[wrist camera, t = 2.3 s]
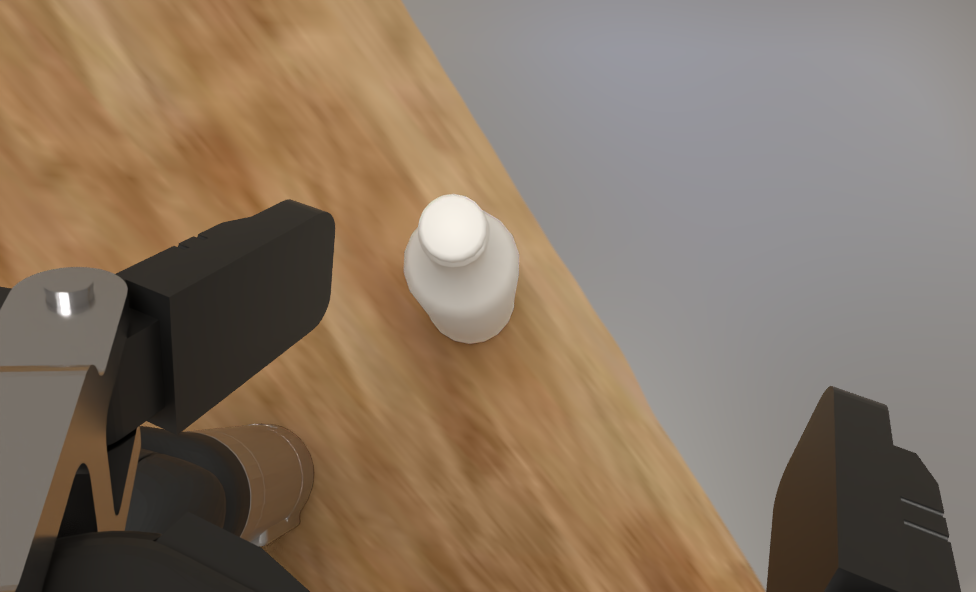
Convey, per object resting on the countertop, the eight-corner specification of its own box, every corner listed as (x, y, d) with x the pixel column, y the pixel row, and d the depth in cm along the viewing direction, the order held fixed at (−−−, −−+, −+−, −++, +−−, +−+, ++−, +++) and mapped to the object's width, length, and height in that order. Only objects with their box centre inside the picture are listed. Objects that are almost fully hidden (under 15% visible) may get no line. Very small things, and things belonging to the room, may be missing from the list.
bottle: (529, 288, 68) (556, 201, 39) (485, 361, 67) (478, 329, 38) (456, 244, 69) (427, 126, 39) (412, 316, 68) (347, 250, 38)
